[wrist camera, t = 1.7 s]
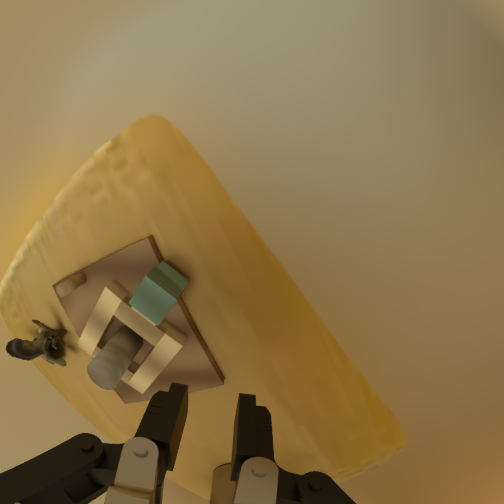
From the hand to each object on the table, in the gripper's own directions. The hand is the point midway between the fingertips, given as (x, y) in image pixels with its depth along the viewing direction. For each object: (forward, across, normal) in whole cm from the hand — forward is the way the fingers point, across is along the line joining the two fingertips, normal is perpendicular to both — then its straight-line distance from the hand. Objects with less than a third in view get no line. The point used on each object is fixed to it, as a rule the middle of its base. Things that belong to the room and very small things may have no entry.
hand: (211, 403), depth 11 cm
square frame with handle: (+14, +9, +5) cm, 17 cm away
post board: (+15, +10, +7) cm, 19 cm away
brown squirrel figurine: (+15, +23, +12) cm, 30 cm away
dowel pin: (+14, +16, +1) cm, 21 cm away
